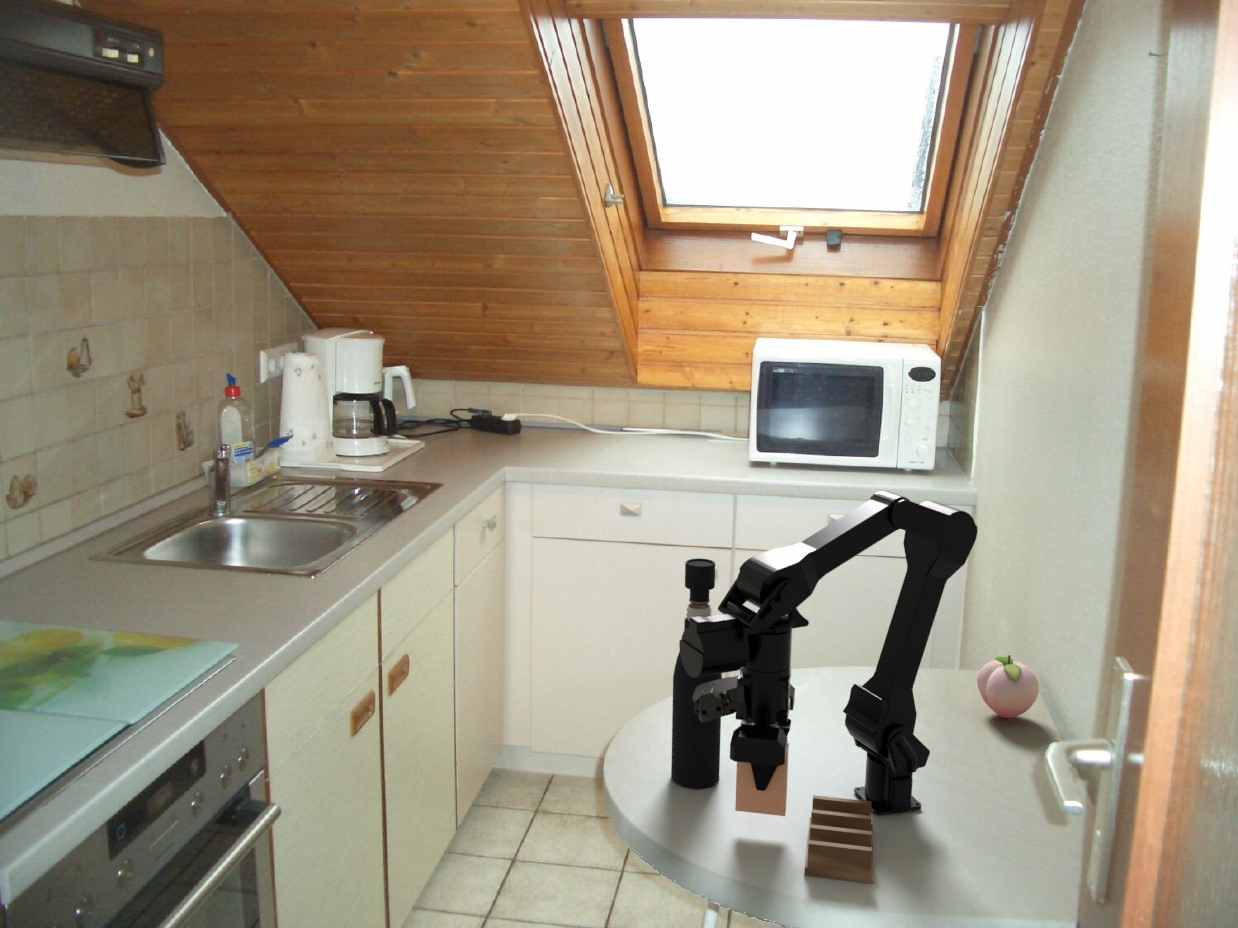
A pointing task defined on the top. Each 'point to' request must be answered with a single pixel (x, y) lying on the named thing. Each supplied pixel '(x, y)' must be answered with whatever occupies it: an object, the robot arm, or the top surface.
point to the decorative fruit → (1007, 686)
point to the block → (762, 801)
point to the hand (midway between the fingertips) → (761, 785)
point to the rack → (840, 840)
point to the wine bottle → (691, 736)
